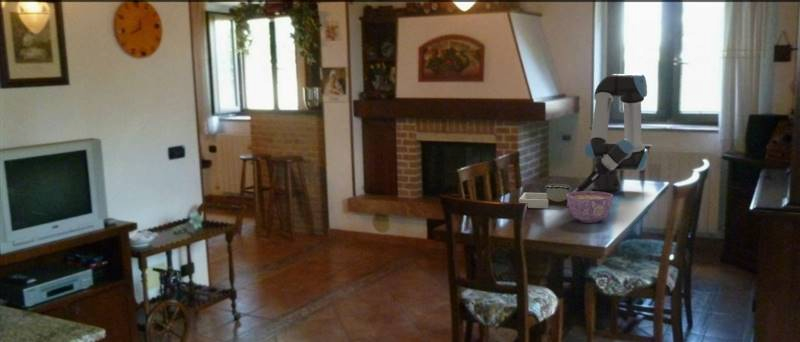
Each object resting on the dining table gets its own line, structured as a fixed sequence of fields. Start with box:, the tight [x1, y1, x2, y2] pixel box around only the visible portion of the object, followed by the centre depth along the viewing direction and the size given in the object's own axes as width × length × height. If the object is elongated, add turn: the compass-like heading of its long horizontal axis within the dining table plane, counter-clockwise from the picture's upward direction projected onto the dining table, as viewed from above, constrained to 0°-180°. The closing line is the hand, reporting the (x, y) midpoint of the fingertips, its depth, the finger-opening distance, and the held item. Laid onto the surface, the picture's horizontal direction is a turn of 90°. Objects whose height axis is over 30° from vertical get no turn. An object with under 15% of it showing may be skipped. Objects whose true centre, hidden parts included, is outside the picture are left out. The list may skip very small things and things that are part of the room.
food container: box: [544, 183, 572, 208], centre depth 364 cm, size 12×6×10 cm, turn 69°
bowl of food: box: [566, 190, 614, 224], centre depth 327 cm, size 20×20×12 cm
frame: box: [518, 192, 549, 209], centre depth 368 cm, size 14×18×4 cm
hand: (570, 198), depth 363 cm, fingers closed
